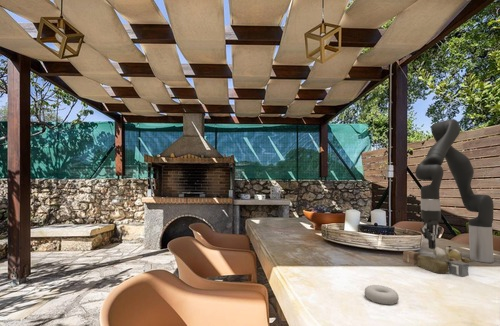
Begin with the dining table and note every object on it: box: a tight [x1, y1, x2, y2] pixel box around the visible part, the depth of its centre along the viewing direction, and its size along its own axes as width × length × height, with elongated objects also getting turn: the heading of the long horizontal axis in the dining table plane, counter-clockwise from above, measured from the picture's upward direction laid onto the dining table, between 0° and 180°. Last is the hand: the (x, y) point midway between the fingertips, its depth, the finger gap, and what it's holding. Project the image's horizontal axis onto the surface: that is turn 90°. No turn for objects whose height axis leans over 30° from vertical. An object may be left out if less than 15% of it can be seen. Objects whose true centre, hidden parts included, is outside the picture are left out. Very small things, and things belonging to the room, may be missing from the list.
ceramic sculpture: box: [432, 245, 474, 264], centre depth 133 cm, size 11×9×15 cm
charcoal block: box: [448, 260, 469, 278], centre depth 116 cm, size 5×5×5 cm
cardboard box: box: [402, 250, 421, 265], centre depth 133 cm, size 5×5×5 cm
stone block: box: [417, 255, 449, 275], centre depth 122 cm, size 6×12×5 cm, turn 11°
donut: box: [364, 284, 400, 305], centre depth 89 cm, size 10×4×10 cm
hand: (432, 248), depth 122 cm, fingers closed
